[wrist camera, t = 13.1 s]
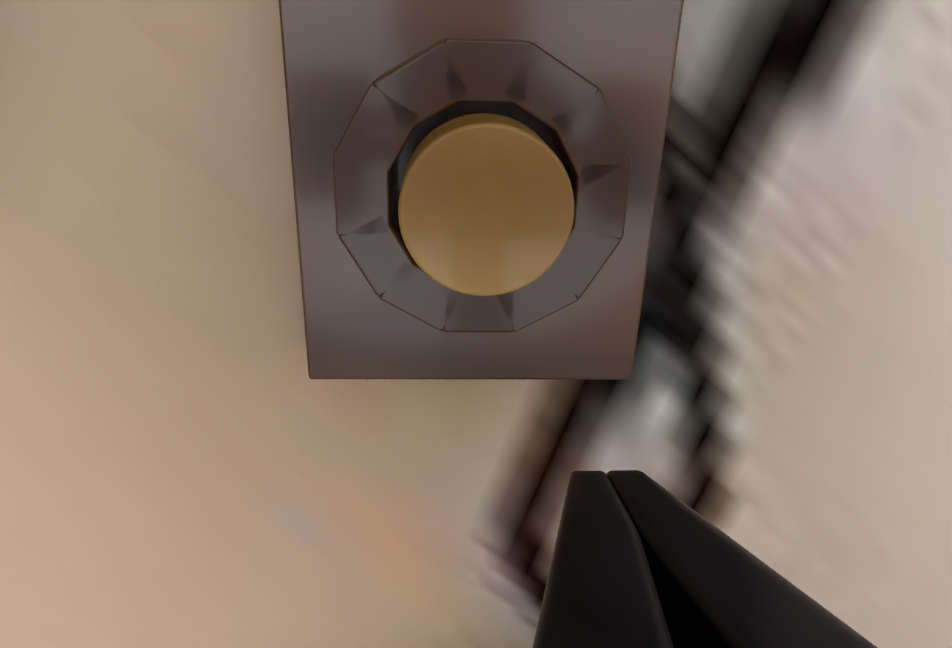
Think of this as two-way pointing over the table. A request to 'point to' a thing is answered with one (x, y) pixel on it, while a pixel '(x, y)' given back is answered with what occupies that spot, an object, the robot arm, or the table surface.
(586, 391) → the table surface
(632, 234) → the block
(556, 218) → the call button
